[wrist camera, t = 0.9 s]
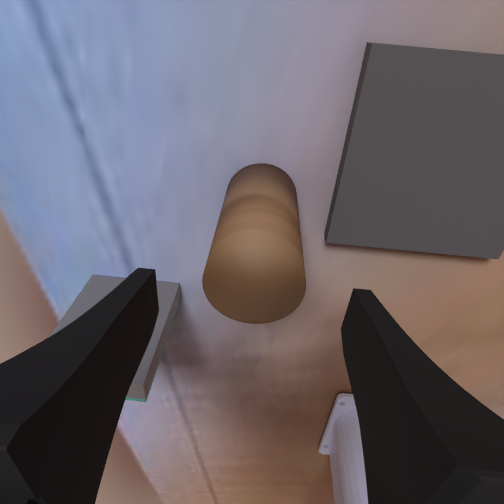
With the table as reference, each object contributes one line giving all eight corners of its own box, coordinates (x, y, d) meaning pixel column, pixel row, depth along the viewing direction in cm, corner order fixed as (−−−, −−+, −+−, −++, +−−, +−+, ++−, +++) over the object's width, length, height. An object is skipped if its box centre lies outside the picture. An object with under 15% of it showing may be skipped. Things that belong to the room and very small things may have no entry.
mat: (489, 249, 21) (498, 259, 20) (324, 233, 21) (326, 242, 21) (592, 63, 16) (609, 66, 15) (367, 42, 16) (372, 44, 15)
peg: (291, 230, 21) (297, 327, 15) (225, 224, 21) (202, 318, 15) (301, 167, 19) (314, 248, 13) (228, 160, 19) (202, 237, 13)
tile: (180, 299, 25) (145, 401, 19) (96, 291, 25) (32, 390, 19) (179, 283, 24) (143, 384, 18) (92, 274, 24) (24, 372, 18)
